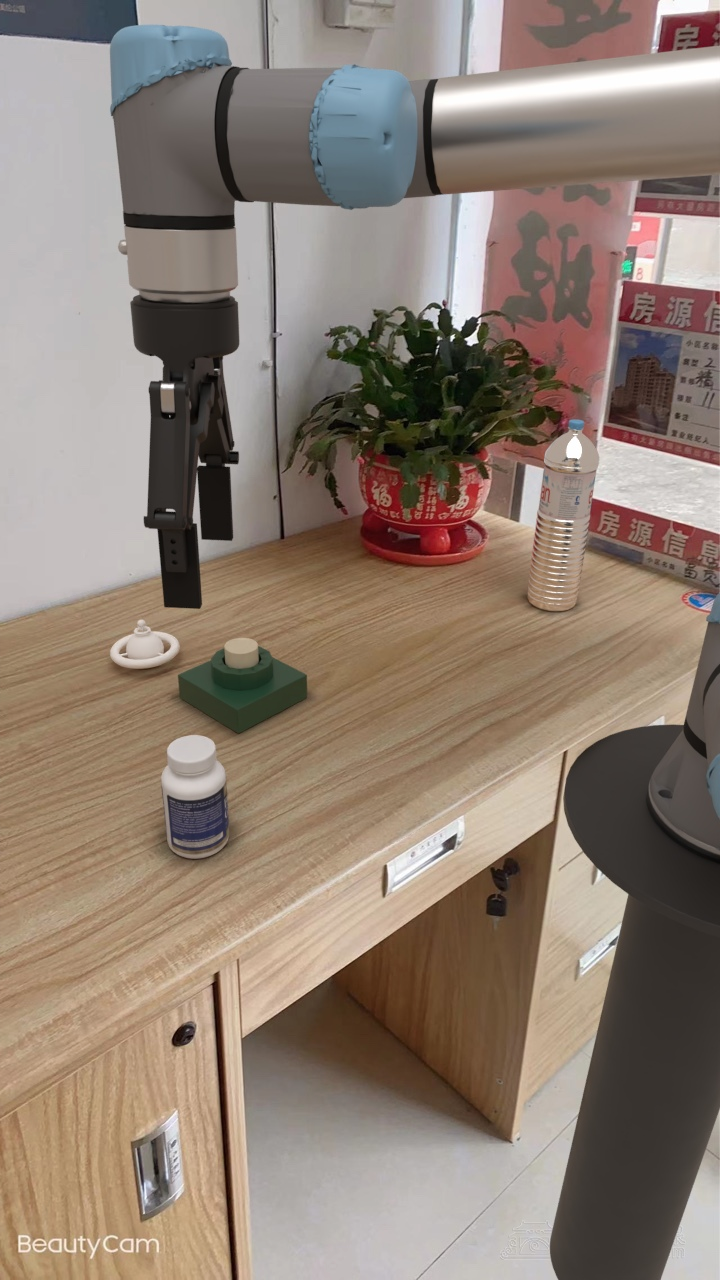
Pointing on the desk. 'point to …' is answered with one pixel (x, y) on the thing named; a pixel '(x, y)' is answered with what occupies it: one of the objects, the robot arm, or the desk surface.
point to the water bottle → (562, 520)
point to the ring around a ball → (144, 648)
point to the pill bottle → (195, 798)
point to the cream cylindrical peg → (241, 653)
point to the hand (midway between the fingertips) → (201, 570)
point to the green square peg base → (242, 689)
